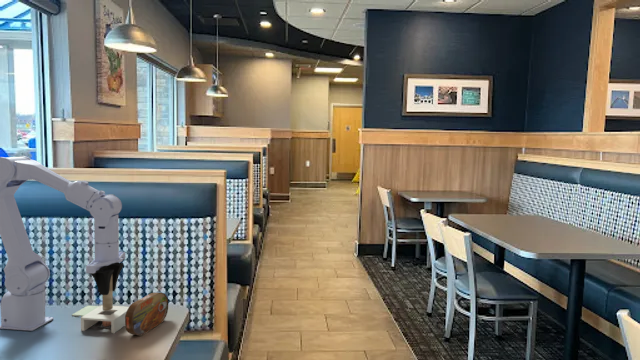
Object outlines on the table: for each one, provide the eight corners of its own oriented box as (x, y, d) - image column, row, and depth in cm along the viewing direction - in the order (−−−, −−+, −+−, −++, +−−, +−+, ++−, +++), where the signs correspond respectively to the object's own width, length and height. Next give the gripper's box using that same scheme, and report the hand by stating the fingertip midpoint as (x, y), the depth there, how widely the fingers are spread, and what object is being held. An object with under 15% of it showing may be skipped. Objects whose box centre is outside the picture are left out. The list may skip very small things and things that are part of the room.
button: (100, 325, 117) (100, 320, 117) (106, 321, 119) (106, 316, 119) (109, 326, 117) (109, 320, 116) (115, 322, 119) (115, 317, 119)
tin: (133, 341, 109) (133, 307, 108) (122, 339, 110) (122, 306, 109) (169, 318, 124) (169, 288, 123) (159, 316, 124) (159, 287, 124)
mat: (71, 316, 123) (71, 314, 123) (87, 306, 130) (87, 305, 130) (95, 317, 123) (95, 316, 123) (110, 308, 130) (110, 307, 130)
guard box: (81, 330, 114) (80, 317, 114) (101, 317, 123) (101, 304, 123) (114, 333, 113) (114, 319, 113) (132, 319, 122) (132, 307, 122)
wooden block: (100, 309, 117) (100, 272, 116) (106, 306, 119) (105, 269, 118) (109, 310, 116) (108, 273, 116) (114, 307, 119) (114, 270, 118)
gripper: (104, 248, 109) (105, 303, 110) (135, 236, 123) (136, 284, 124) (77, 247, 109) (78, 301, 110) (111, 235, 124) (112, 283, 125)
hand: (107, 292), depth 117 cm, fingers closed on wooden block, 2 cm apart
